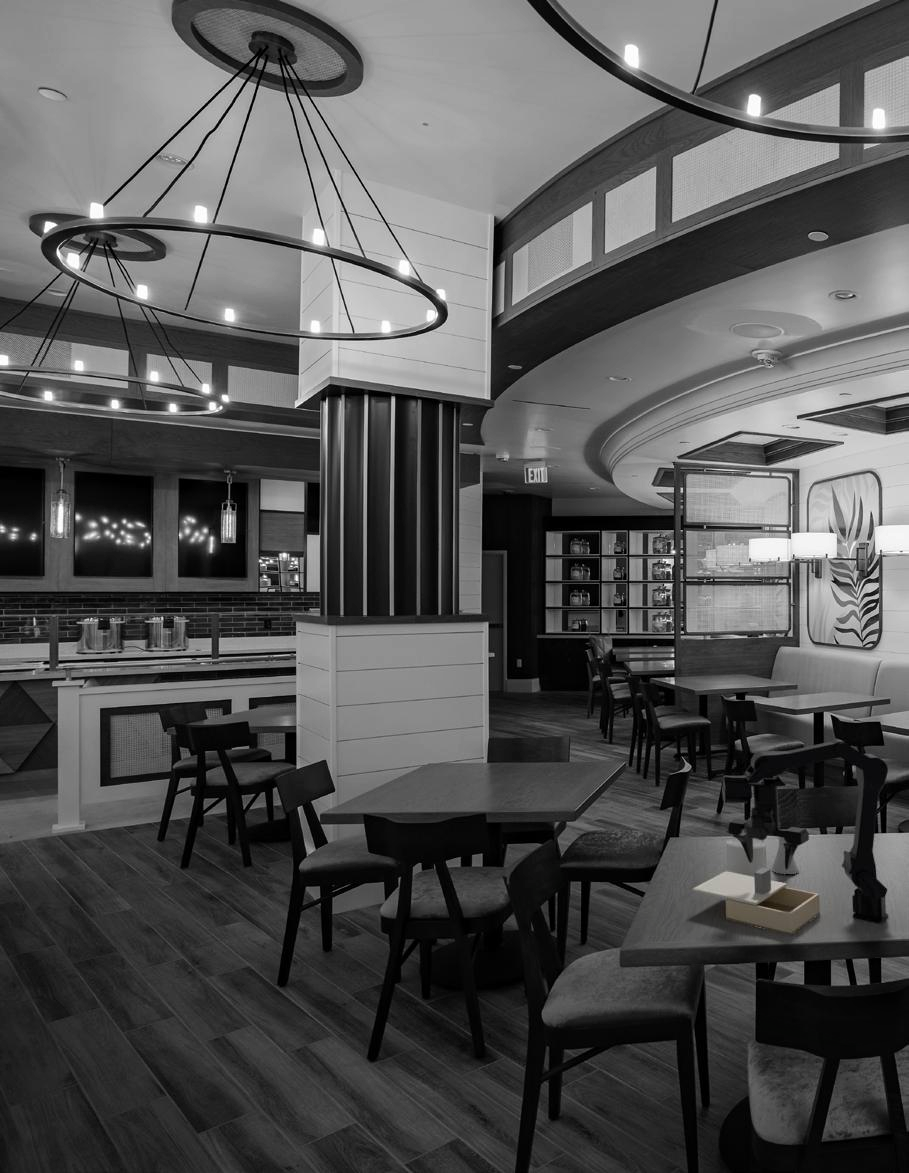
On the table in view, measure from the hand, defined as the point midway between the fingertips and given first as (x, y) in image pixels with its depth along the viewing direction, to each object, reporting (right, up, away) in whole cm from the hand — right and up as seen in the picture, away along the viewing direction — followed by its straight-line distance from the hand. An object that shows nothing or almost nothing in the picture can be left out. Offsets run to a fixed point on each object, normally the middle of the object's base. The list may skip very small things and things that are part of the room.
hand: (768, 865), depth 212 cm
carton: (0, -12, -3) cm, 12 cm away
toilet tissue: (+4, -13, +27) cm, 31 cm away
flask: (+17, -13, +32) cm, 38 cm away
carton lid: (-6, -7, +3) cm, 10 cm away
